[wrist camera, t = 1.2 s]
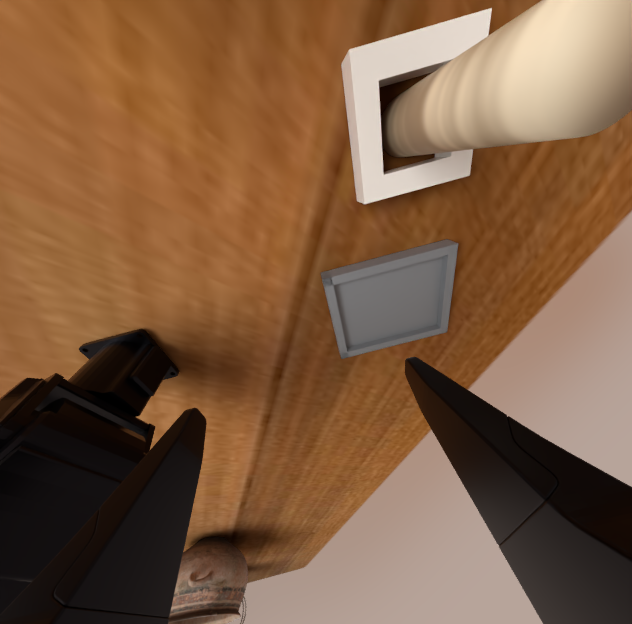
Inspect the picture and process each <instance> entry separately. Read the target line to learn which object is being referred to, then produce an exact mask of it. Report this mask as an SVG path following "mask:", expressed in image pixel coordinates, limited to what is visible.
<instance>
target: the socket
mask: <svg viewBox="0 0 632 624" xmlns="http://www.w3.org/2000/svg"><path fill="white" fill-rule="evenodd" d="M491 11H492V8H490V9H487V10H483V11H480V12H477V13H473V14H470V15H466V16H463V17H459V18H456V19H452V20H449V21H446V22H442V23H439V24H435V25H432V26H428V27H425V28H422V29H418V30H415V31H411V32H408V33H404V34H401V35H397V36H394V37H391V38H387V39H384V40H380V41H377V42H373V43H370V44H367V45H363V46H360V47H356V48H353V49H349V51H348V53H347V55H346V57H345V58H344V60H343V62H342V64H341V66H342V75H343V84H344V92H345V101H346V110H347V118H348V127H349V136H350V144H351V153H352V162H353V170H354V179H355V188H356V196H357V201H358V202H360V203H363V204H367V203H371V202H375V201H378V200H382V199H386V198H389V197H393V196H397V195H400V194H404V193H408V192H411V191H415V190H419V189H422V188H426V187H430V186H434V185H437V184H441V183H445V182H448V181H452V180H456V179H459V178H463V177H467V176H470V169H471V162H472V154H473V149H470V150H461V151H453V152H444V153H435V158H432V159H428V160H425V161H421V162H417V163H414V164H410V165H406V166H403V167H399V168H395V169H392V170H388V171H385V172H383V154H382V134H381V115H380V96H379V88H380V87H383V86H387V85H390V84H394V83H397V82H401V81H404V80H408V79H411V78H415V77H418V76H422V75H425V74H429V73H432V72H434V71H436V70H437V69H439V68H440V67H442V66H444V65H445V64H447V63H448V62H450V61H451V60H453V59H454V58H456V57H457V56H459V55H460V54H462V53H463V52H465V51H466V50H468V49H469V48H471V47H472V46H474V45H475V44H477V43H478V42H480V41H481V40H483V39H484V38H486V37H487V36H488V33H489V26H490V18H491Z"/></svg>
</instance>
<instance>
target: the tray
mask: <svg viewBox="0 0 632 624" xmlns="http://www.w3.org/2000/svg"><path fill="white" fill-rule="evenodd" d="M457 249H458V243H456V242H453V241H451V240H449V239H446V240H442V241H438V242H435V243H431V244H427V245H423V246H420V247H416V248H412V249H408V250H405V251H401V252H397V253H393V254H389V255H386V256H382V257H378V258H374V259H371V260H367V261H363V262H359V263H356V264H352V265H348V266H344V267H340V268H337V269H333V270H329V271H325V272H322V273H321V277H322V281H323V285H324V290H325V294H326V298H327V302H328V307H329V311H330V315H331V319H332V323H333V328H334V332H335V336H336V340H337V345H338V349H339V352H340V356H341V359H343V358H347V357H351V356H355V355H359V354H363V353H367V352H371V351H375V350H378V349H382V348H386V347H390V346H394V345H398V344H402V343H406V342H410V341H414V340H418V339H422V338H426V337H429V336H433V335H437V334H441V333H445V332H447V329H448V321H449V313H450V305H451V297H452V289H453V281H454V273H455V265H456V257H457Z"/></svg>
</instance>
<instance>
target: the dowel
mask: <svg viewBox="0 0 632 624" xmlns="http://www.w3.org/2000/svg"><path fill="white" fill-rule="evenodd" d="M631 110H632V0H542V1H540V2H539V3H537V4H536V5H534V6H533V7H531V8H530V9H528V10H527V11H525V12H524V13H522V14H521V15H519V16H518V17H516V18H515V19H513V20H512V21H510V22H509V23H507V24H506V25H504V26H502V27H501V28H499V29H498V30H496V31H495V32H493V33H492V34H490V35H489V36H487V37H486V38H484V39H483V40H481V41H480V42H478V43H477V44H475V45H474V46H472V47H471V48H469V49H468V50H466V51H465V52H463V53H462V54H460V55H459V56H457V57H456V58H454V59H453V60H451V61H450V62H448V63H447V64H445V65H444V66H442V67H440V68H439V69H437V70H436V71H434V72H433V73H431V74H430V75H428V76H427V77H425V78H424V79H422V80H421V81H419V82H418V83H416V84H415V85H413V86H412V87H410V88H409V89H407V90H406V91H404V92H403V93H401V94H400V95H398V96H397V97H395V98H394V99H393V100H392V101H391V102H390V103H389V104H388V106H387V107H386V109H385V111H384V112H383V115H382V118H381V134H382V146H383V148H384V150H385V151H386V152H387V153H388V154H389V155H391V156H393V157H408V156H417V155H426V154H435V153H444V152H453V151H461V150H470V149H479V148H488V147H497V146H506V145H515V144H524V143H533V142H542V141H550V140H559V139H568V138H577V137H584V136H589V135H592V134H595V133H598V132H600V131H602V130H604V129H606V128H608V127H609V126H611V125H613V124H614V123H616V122H617V121H618V120H620V119H621V118H623V117H624V116H625V115H626V114H628V113H629V112H630V111H631Z"/></svg>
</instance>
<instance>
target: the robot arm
mask: <svg viewBox="0 0 632 624" xmlns="http://www.w3.org/2000/svg"><path fill="white" fill-rule="evenodd" d="M140 334H141V335H140ZM79 350H80V352H82V353H83V354H84V355H85V356H86V357H87V358H88V359H89V361H88V362H87V363H86V364H85V365H84V366H82V367H81V368H80V369H79V370H78V371H77V372H76V373H75V374H74V375H73V376H72V377H71V378H70V379H69V380H68V381H67V380H65V379H63V378H64V377H63V376H61V375H59V374H57V373H55V374H54V375H52V376H50V377H48V378H47V379H45V380H44V379H42V378H41V379H35V378H26V379H24V380H23V381H21V382H20V383H19V384H17V385H16V386H15V387H14V388H12V389H11V390H10V391H9V392H7V393H6V394H5V395H4V396H2V397H1V398H0V624H168V623H169V616H170V612H171V607H172V603H173V598H174V593H175V588H176V584H177V579H178V574H179V569H180V565H181V560H182V555H183V550H184V546H185V541H186V536H187V531H188V527H189V522H190V517H191V512H192V508H193V503H194V498H195V493H196V489H197V484H198V479H199V474H200V470H201V464H202V458H203V450H204V441H205V432H206V419H205V417H204V416H203V415H202V413H201V412H200V411H199V410H198V409H197V408H192V409H188V410H186V411H184V412H183V413H182V415H181V416H180V417H179V418H178V419H177V420H176V421H175V423H174V424H173V425H172V426H171V427H170V428H169V429H168V431H167V432H166V433H165V434H164V435H163V436H162V437H161V438H160V440H159V441H158V442H157V443H156V444H155V445H154V446H153V448H152V449H151V450H150V446H151V442H152V438H153V434H154V430H155V426H154V425H152V424H147V423H145V422H144V421H142V420H140V419H138V418H136V416H139V415H140V414H141V413H142V411H143V409H144V407H145V406H146V404H147V402H148V401H149V399H150V397H151V396H153V395H154V394H155V392H156V391H157V389H158V387H159V385H160V384H161V382H162V380H165V379H168V378H172V377H176V376H177V375H178V373H179V370H178V369H177V368H176V366H175V365H174V364H173V363H172V362H171V360H170V359H169V358H168V357H167V356H166V355H165V353H164V352H163V351H162V350H161V349H160V347H159V346H158V345H157V344H156V343H155V341H154V340H153V339H152V338H151V337H150V336H149V334H148V333H147V332H146V331H144V330H141V329H139V330H135V331H131V332H127V333H123V334H120V335H116V336H112V337H108V338H105V339H101V340H97V341H93V342H89V343H86V344H83V345H82V346H81V347H80V348H79ZM405 375H406V378H407V380H408V382H409V384H410V387H411V389H412V391H413V394H414V396H415V398H416V400H417V403H418V405H419V407H420V409H421V411H422V413H423V415H424V417H425V419H426V420H427V422H428V424H429V426H430V427H431V429H432V431H433V433H434V434H435V436H436V437H437V440H438V441H439V443H440V445H441V446H442V448H443V450H444V452H445V453H446V455H447V457H448V459H449V460H450V462H451V464H452V466H453V467H454V469H455V471H456V473H457V474H458V476H459V478H460V479H461V481H462V483H463V485H464V487H465V488H466V490H467V492H468V493H469V495H470V497H471V498H472V500H473V502H474V504H475V506H476V507H477V509H478V511H479V513H480V514H481V516H482V518H483V520H484V521H485V523H486V524H487V526H488V528H489V530H490V531H491V533H492V535H493V537H494V539H495V540H496V542H497V544H498V545H499V547H500V549H501V551H502V553H503V555H504V556H505V558H506V560H507V561H508V563H509V565H510V567H511V568H512V570H513V572H514V574H515V575H516V577H517V579H518V580H519V582H520V584H521V586H522V588H523V589H524V591H525V593H526V595H527V596H528V598H529V600H530V601H531V603H532V605H533V607H534V608H535V610H536V612H537V614H538V615H539V617H540V619H541V621H542V622H543V624H632V487H631V486H629V485H627V484H625V483H623V482H621V481H620V480H618V479H616V478H614V477H613V476H611V475H609V474H607V473H605V472H603V471H602V470H600V469H598V468H596V467H594V466H593V465H591V464H589V463H587V462H585V461H584V460H582V459H580V458H578V457H576V456H574V455H573V454H571V453H569V452H567V451H566V450H564V449H562V448H560V447H559V446H557V445H555V444H553V443H552V442H550V441H548V440H546V439H544V438H543V437H541V436H539V435H538V434H536V433H535V432H533V431H531V430H530V429H528V428H527V427H525V426H523V425H521V424H520V423H518V422H517V421H515V420H514V419H512V418H511V417H509V416H508V417H507V415H506V414H504V413H503V412H501V411H500V410H498V409H496V408H495V407H493V406H492V405H490V404H488V403H487V402H486V401H484V400H483V399H481V398H479V397H478V396H476V395H475V394H473V393H472V392H470V391H468V390H467V389H465V388H464V387H462V386H461V385H459V384H458V383H456V382H454V381H453V380H451V379H450V378H448V377H447V376H445V375H444V374H442V373H440V372H439V371H437V370H436V369H434V368H433V367H431V366H429V365H428V364H426V363H425V362H423V361H422V360H420V359H419V358H417V357H411V358H407V359H406V360H405ZM149 450H150V451H149Z"/></svg>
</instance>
